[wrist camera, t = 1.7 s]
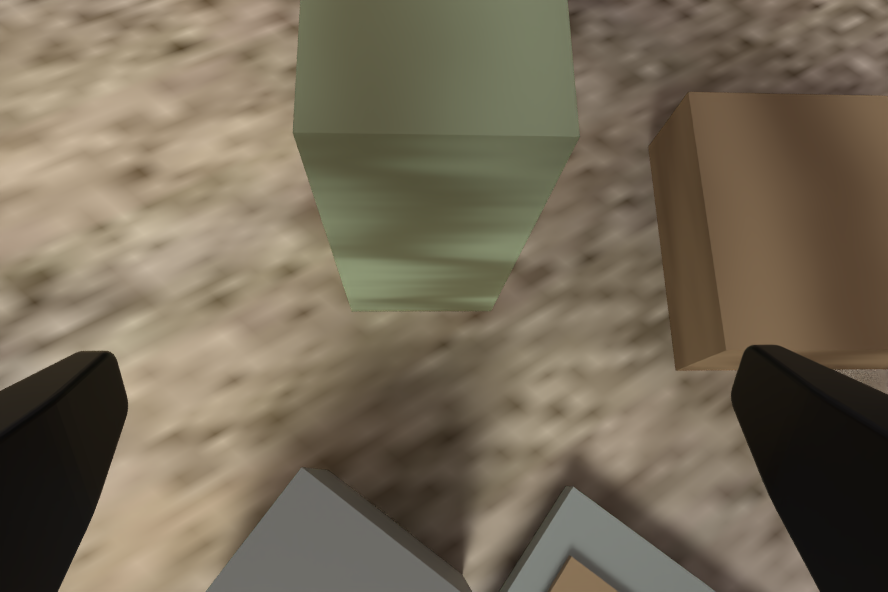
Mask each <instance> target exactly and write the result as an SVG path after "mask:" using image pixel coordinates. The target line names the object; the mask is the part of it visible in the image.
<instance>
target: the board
mask: <svg viewBox="0 0 888 592" xmlns="http://www.w3.org/2000/svg"><path fill="white" fill-rule="evenodd" d="M499 592H716V591H714V590H713V589H711V588H710V587H709V586H707V585H706V584H705V583H703V582H702V581H701V580H699V579H698V578H697V577H695V576H694V575H692V574H691V573H690V572H688V571H687V570H686V569H684V568H683V567H682V566H680V565H679V564H678V563H676V562H675V561H673V560H672V559H671V558H669V557H668V556H667V555H665V554H664V553H663V552H661V551H660V550H659V549H657V548H656V547H654V546H653V545H652V544H650V543H649V542H648V541H646V540H645V539H644V538H642V537H641V536H639V535H638V534H637V533H635V532H634V531H633V530H631V529H630V528H629V527H627V526H626V525H625V524H623V523H622V522H620V521H619V520H618V519H616V518H615V517H614V516H612V515H611V514H610V513H608V512H607V511H606V510H604V509H603V508H601V507H600V506H599V505H597V504H596V503H595V502H593V501H592V500H591V499H589V498H588V497H587V496H585V495H584V494H582V493H581V492H580V491H578V490H577V489H576V488H574V487H569V486H565V488H564V490H563V491H562V493H561V494H560V496H559V497H558V499H557V501H556V502H555V504H554V505H553V507H552V509H551V510H550V512H549V513H548V515H547V516H546V518H545V520H544V521H543V523H542V524H541V526H540V528H539V529H538V531H537V532H536V534H535V535H534V537H533V539H532V540H531V542H530V543H529V545H528V547H527V548H526V550H525V551H524V553H523V555H522V556H521V558H520V559H519V561H518V562H517V564H516V566H515V567H514V569H513V570H512V572H511V574H510V575H509V577H508V578H507V580H506V581H505V583H504V585H503V586H502V588H501V589H500V591H499Z"/></svg>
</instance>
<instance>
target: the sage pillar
mask: <svg viewBox="0 0 888 592" xmlns="http://www.w3.org/2000/svg"><path fill="white" fill-rule="evenodd" d="M293 135H294V138H295V141H296V144H297V147H298V150H299V153H300V156H301V159H302V162H303V165H304V168H305V171H306V174H307V177H308V180H309V183H310V186H311V189H312V192H313V195H314V198H315V201H316V204H317V207H318V210H319V213H320V216H321V220H322V223H323V226H324V229H325V232H326V235H327V238H328V241H329V244H330V247H331V250H332V253H333V256H334V259H335V262H336V265H337V268H338V271H339V274H340V277H341V280H342V283H343V286H344V289H345V292H346V295H347V298H348V301H349V304H350V307H351V311H491V310H492V308H493V306H494V304H495V302H496V300H497V298H498V296H499V294H500V292H501V290H502V288H503V286H504V284H505V282H506V280H507V278H508V276H509V275H510V273H511V271H512V269H513V267H514V265H515V263H516V261H517V259H518V257H519V255H520V253H521V251H522V249H523V247H524V245H525V243H526V241H527V239H528V237H529V235H530V233H531V231H532V229H533V227H534V225H535V224H536V222H537V220H538V218H539V216H540V214H541V212H542V210H543V208H544V206H545V204H546V202H547V200H548V198H549V196H550V194H551V192H552V190H553V188H554V186H555V184H556V182H557V180H558V178H559V176H560V174H561V173H562V171H563V169H564V167H565V165H566V163H567V161H568V159H569V157H570V155H571V153H572V151H573V149H574V147H575V145H576V143H577V141H578V139H579V137H580V134H579V123H578V112H577V100H576V89H575V78H574V67H573V56H572V45H571V33H570V22H569V11H568V0H300V14H299V31H298V49H297V67H296V85H295V103H294V120H293Z"/></svg>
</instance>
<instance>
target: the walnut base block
mask: <svg viewBox="0 0 888 592" xmlns="http://www.w3.org/2000/svg"><path fill="white" fill-rule="evenodd" d="M648 148H649V156H650V164H651V172H652V180H653V188H654V197H655V205H656V213H657V221H658V229H659V238H660V246H661V254H662V262H663V270H664V278H665V287H666V295H667V303H668V311H669V319H670V327H671V336H672V344H673V352H674V360H675V368H676V371H686V370H738V368H739V364H740V361H741V358H742V355H743V352H744V351H745V349H746V348H747V347H749V346H751V345H767V344H774V345H779V346H782V347H784V348H786V349H788V350H791V351H793V352H795V353H797V354H799V355H802V356H804V357H806V358H808V359H811V360H813V361H815V362H817V363H819V364H822V365H824V366H826V367H828V368H830V369H888V96H872V95H821V94H770V93H719V92H688V93H687V94H686V96H685V97H684V99H683V100H682V101H681V103H680V104H679V105H678V107H677V108H676V110H675V111H674V112H673V114H672V115H671V116H670V118H669V119H668V120H667V122H666V123H665V125H664V126H663V127H662V129H661V130H660V131H659V133H658V134H657V136H656V137H655V138H654V140H653V141H652V142H651V144H650V145H649V147H648Z"/></svg>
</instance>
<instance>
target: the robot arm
mask: <svg viewBox="0 0 888 592" xmlns="http://www.w3.org/2000/svg"><path fill="white" fill-rule="evenodd" d="M731 401H732V406H733V409H734V411H735V414H736V416H737V419H738V421H739V424H740V426H741V428H742V431H743V433H744V436H745V438H746V441H747V443H748V446H749V448H750V451H751V453H752V456H753V458H754V461H755V463H756V466H757V468H758V471H759V473H760V476H761V478H762V481H763V483H764V485H765V487H766V490H767V492H768V494H769V496H770V498H771V500H772V502H773V504H774V506H775V508H776V510H777V512H778V514H779V516H780V518H781V520H782V522H783V523H784V525H785V527H786V529H787V531H788V533H789V535H790V537H791V538H792V540H793V542H794V544H795V546H796V548H797V550H798V552H799V553H800V555H801V557H802V559H803V561H804V563H805V565H806V566H807V568H808V570H809V572H810V574H811V576H812V578H813V580H814V581H815V583H816V585H817V587H818V589H819V591H820V592H888V394H885V393H883V392H881V391H879V390H877V389H874V388H872V387H870V386H868V385H866V384H863V383H861V382H859V381H857V380H855V379H852V378H850V377H848V376H846V375H844V374H841V373H839V372H837V371H835V370H833V369H830V368H828V367H826V366H824V365H822V364H819V363H817V362H815V361H813V360H811V359H808V358H806V357H804V356H802V355H799V354H797V353H795V352H793V351H791V350H788V349H786V348H784V347H782V346H779V345H774V344H767V345H751V346H749V347H747V348H746V349H745V351H744V352H743V355H742V358H741V361H740V364H739V368H738V371H737V374H736V377H735V380H734V384H733V387H732V391H731ZM127 412H128V399H127V395H126V391H125V387H124V384H123V380H122V376H121V373H120V369H119V366H118V362H117V359H116V357H115V356H114V354H112V353H111V352H109V351H80V352H77V353H75V354H73V355H71V356H69V357H67V358H65V359H63V360H61V361H59V362H57V363H55V364H53V365H51V366H49V367H47V368H45V369H43V370H41V371H39V372H37V373H35V374H33V375H31V376H29V377H27V378H25V379H23V380H21V381H19V382H17V383H15V384H13V385H11V386H9V387H7V388H5V389H3V390H1V391H0V592H58V590H59V588H60V586H61V584H62V581H63V579H64V577H65V575H66V573H67V571H68V569H69V566H70V564H71V562H72V560H73V558H74V556H75V554H76V551H77V549H78V547H79V545H80V543H81V541H82V538H83V536H84V534H85V532H86V530H87V528H88V525H89V523H90V521H91V518H92V516H93V514H94V511H95V509H96V506H97V503H98V501H99V498H100V495H101V492H102V489H103V486H104V483H105V480H106V477H107V474H108V471H109V468H110V465H111V462H112V459H113V456H114V453H115V450H116V447H117V444H118V441H119V438H120V435H121V432H122V429H123V426H124V423H125V420H126V416H127Z"/></svg>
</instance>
